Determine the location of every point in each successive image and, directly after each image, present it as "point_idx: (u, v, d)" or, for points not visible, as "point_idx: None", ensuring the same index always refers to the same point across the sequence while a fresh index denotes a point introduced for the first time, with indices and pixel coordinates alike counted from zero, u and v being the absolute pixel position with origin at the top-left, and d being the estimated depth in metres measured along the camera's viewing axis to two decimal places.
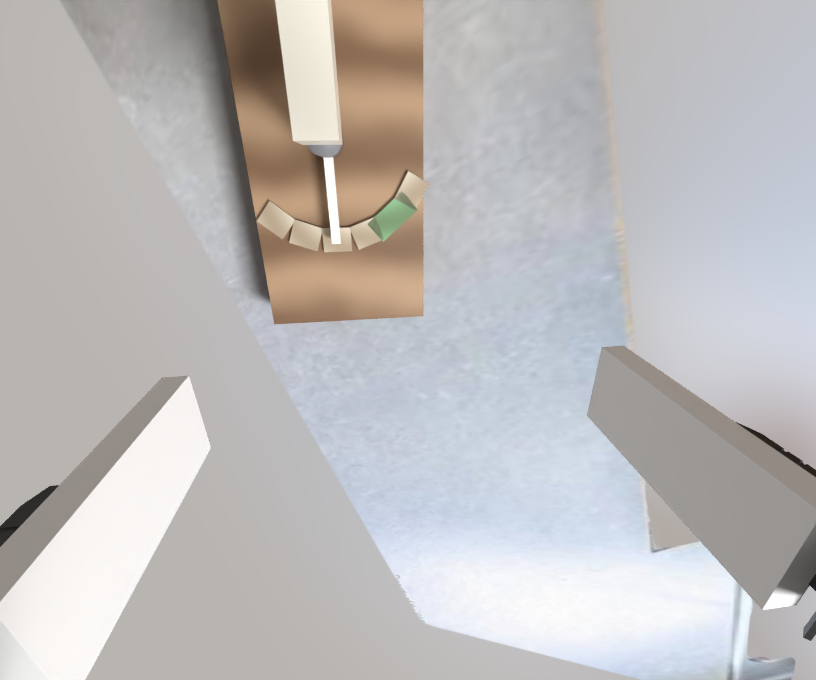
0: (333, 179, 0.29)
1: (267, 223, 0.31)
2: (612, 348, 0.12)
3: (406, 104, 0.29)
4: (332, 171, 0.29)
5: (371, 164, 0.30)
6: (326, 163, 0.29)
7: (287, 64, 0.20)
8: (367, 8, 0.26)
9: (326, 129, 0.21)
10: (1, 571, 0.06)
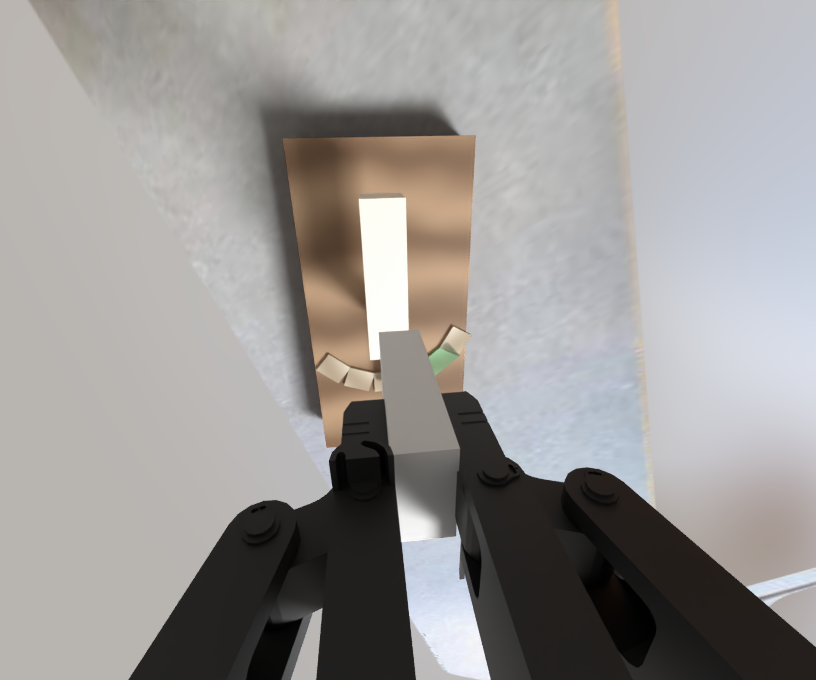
0: None
1: (325, 371, 0.35)
2: (406, 331, 0.14)
3: (453, 274, 0.32)
4: None
5: (420, 321, 0.34)
6: None
7: (370, 308, 0.23)
8: (423, 204, 0.30)
9: None
10: (406, 434, 0.08)
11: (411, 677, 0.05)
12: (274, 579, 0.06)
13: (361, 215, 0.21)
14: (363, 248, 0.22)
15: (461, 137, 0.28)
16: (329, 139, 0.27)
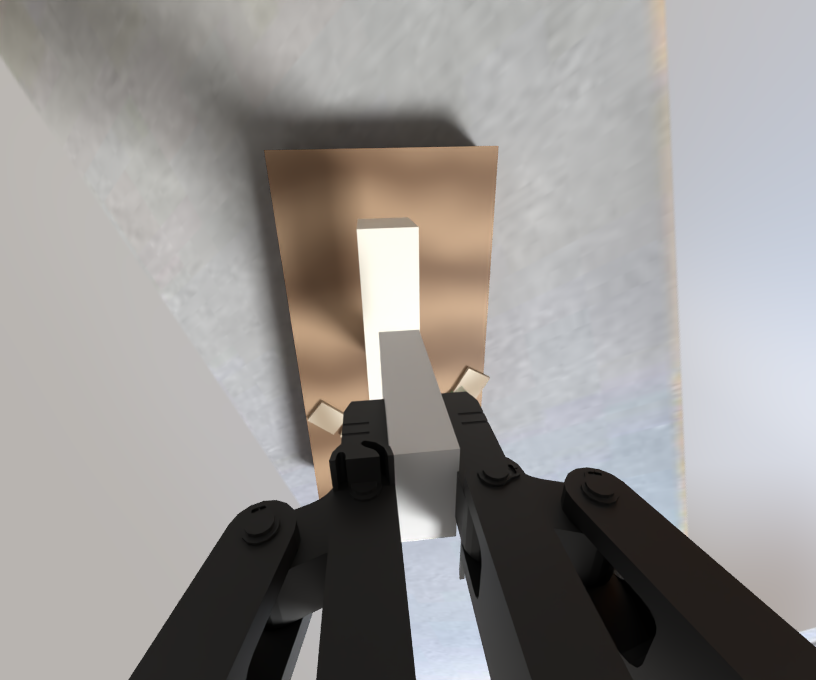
0: None
1: (318, 421, 0.29)
2: (406, 331, 0.14)
3: (469, 309, 0.27)
4: None
5: (430, 362, 0.29)
6: None
7: (371, 365, 0.18)
8: (435, 228, 0.25)
9: None
10: (406, 434, 0.08)
11: (411, 677, 0.05)
12: (274, 579, 0.06)
13: (360, 250, 0.16)
14: (362, 291, 0.17)
15: (481, 148, 0.23)
16: (321, 151, 0.22)
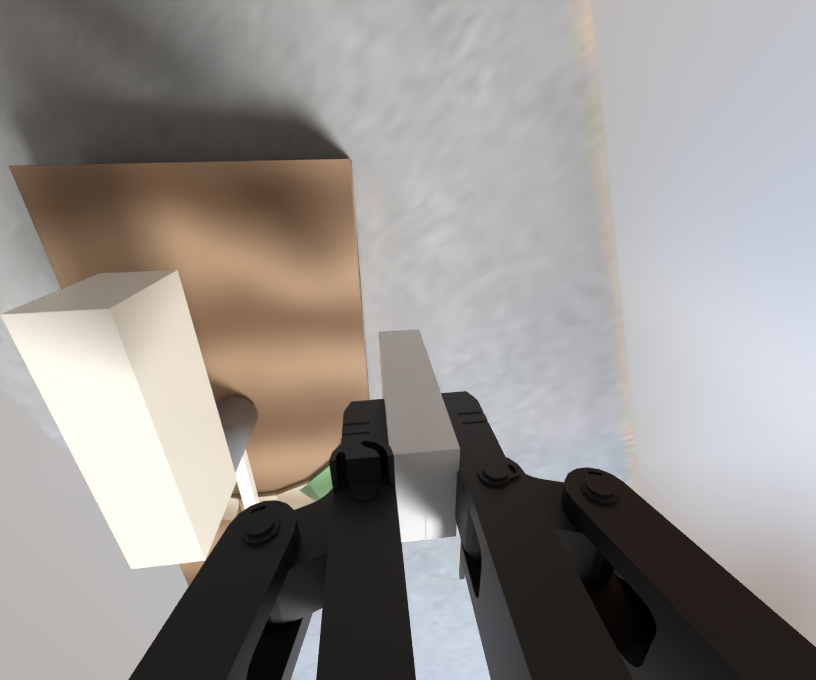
0: (243, 466, 0.21)
1: None
2: (406, 331, 0.14)
3: (341, 366, 0.21)
4: (241, 458, 0.21)
5: (300, 429, 0.23)
6: None
7: (101, 497, 0.12)
8: (277, 267, 0.19)
9: (182, 552, 0.14)
10: (406, 434, 0.08)
11: (411, 677, 0.05)
12: (274, 579, 0.06)
13: (20, 344, 0.10)
14: (48, 402, 0.11)
15: (325, 162, 0.17)
16: (94, 167, 0.16)
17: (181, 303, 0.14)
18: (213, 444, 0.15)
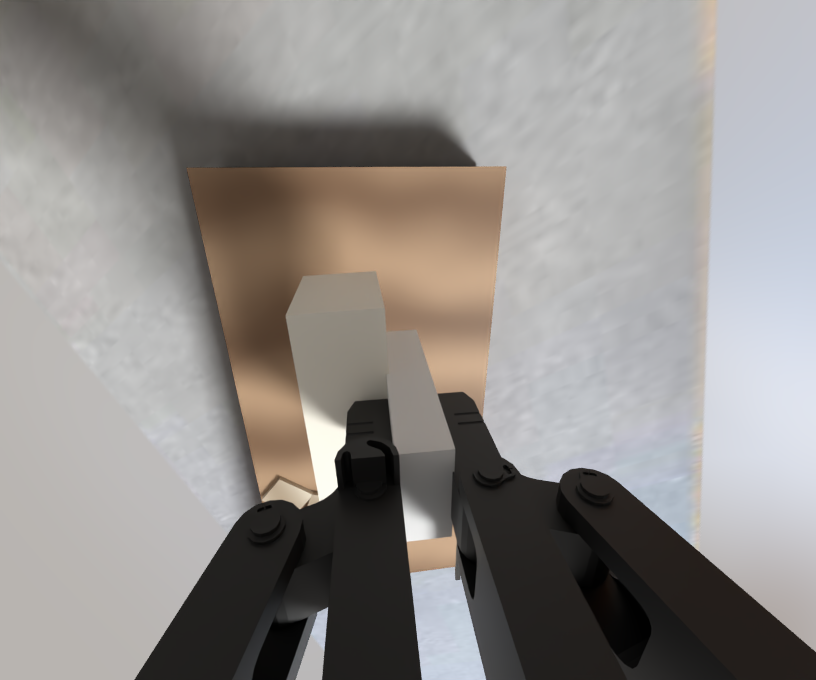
0: None
1: None
2: (403, 331, 0.14)
3: (465, 367, 0.22)
4: None
5: None
6: None
7: (325, 495, 0.13)
8: (422, 270, 0.19)
9: None
10: (411, 433, 0.08)
11: (417, 677, 0.05)
12: (280, 578, 0.06)
13: (294, 345, 0.10)
14: (303, 401, 0.11)
15: (484, 169, 0.17)
16: (267, 170, 0.16)
17: None
18: None
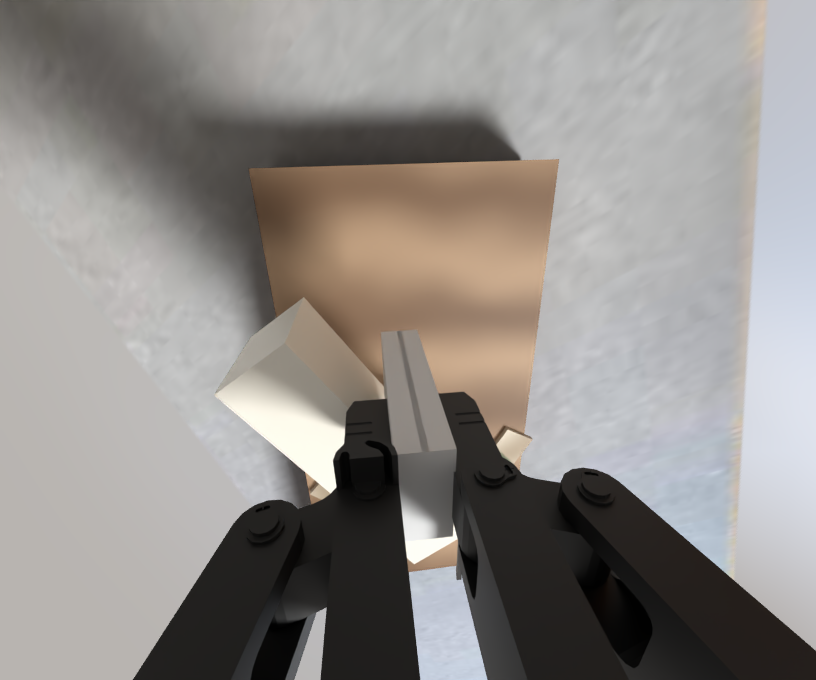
0: None
1: (323, 495, 0.24)
2: (404, 331, 0.14)
3: (511, 361, 0.22)
4: None
5: None
6: None
7: None
8: (472, 265, 0.19)
9: None
10: (410, 434, 0.08)
11: (415, 677, 0.05)
12: (278, 578, 0.06)
13: (239, 412, 0.11)
14: (283, 450, 0.12)
15: (536, 163, 0.17)
16: (326, 169, 0.17)
17: (323, 323, 0.14)
18: None
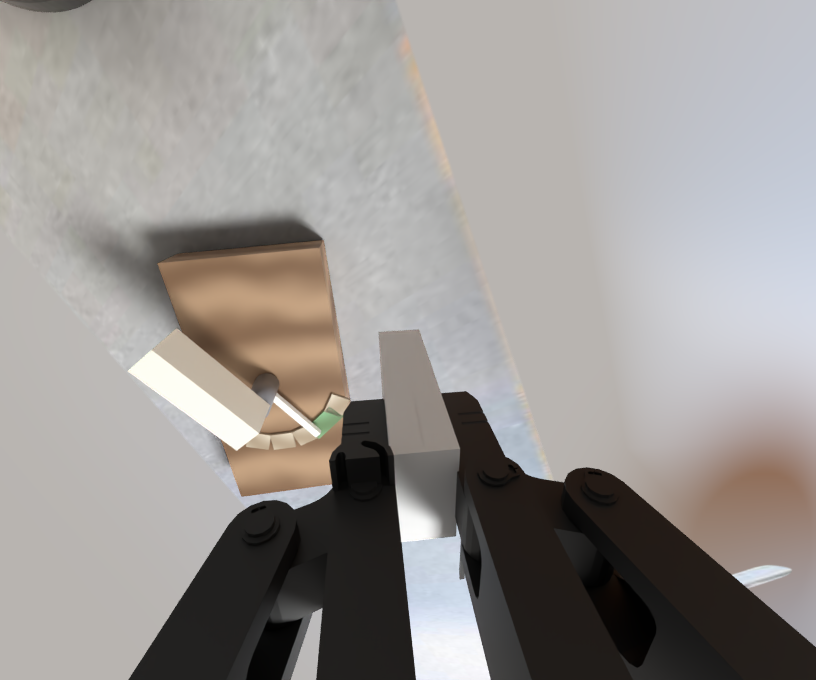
0: (286, 406, 0.38)
1: None
2: (406, 331, 0.14)
3: (324, 353, 0.38)
4: (281, 402, 0.38)
5: (303, 391, 0.40)
6: (274, 401, 0.38)
7: (202, 423, 0.30)
8: (286, 302, 0.35)
9: (248, 433, 0.30)
10: (406, 434, 0.08)
11: (411, 677, 0.05)
12: (274, 579, 0.06)
13: (139, 378, 0.27)
14: (160, 394, 0.28)
15: (307, 250, 0.34)
16: (196, 260, 0.33)
17: (186, 339, 0.30)
18: (240, 390, 0.32)
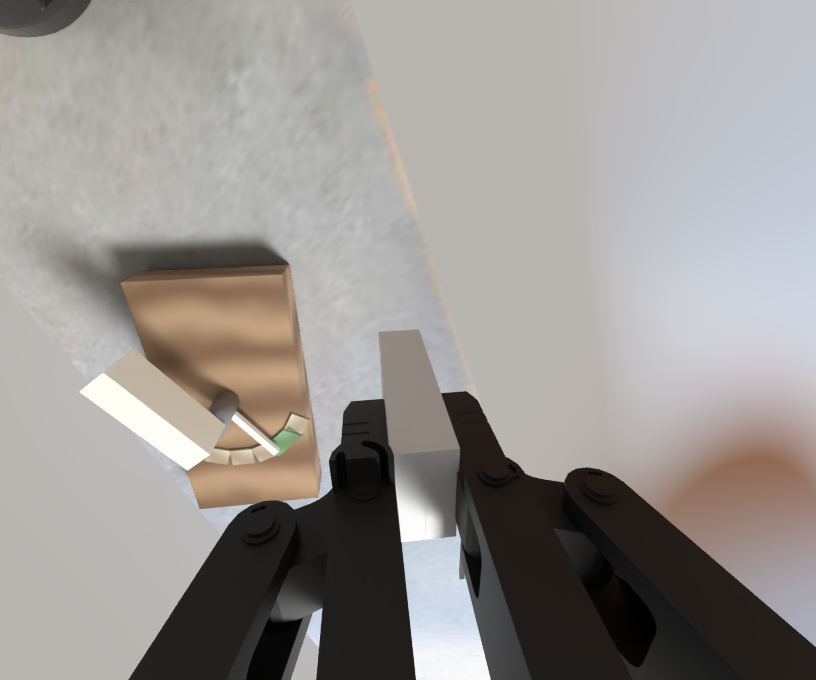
0: (244, 424, 0.39)
1: None
2: (406, 331, 0.14)
3: (285, 374, 0.39)
4: (240, 420, 0.39)
5: (263, 410, 0.40)
6: (233, 419, 0.39)
7: (153, 443, 0.30)
8: (248, 325, 0.36)
9: (199, 455, 0.31)
10: (406, 434, 0.08)
11: (411, 677, 0.05)
12: (274, 579, 0.06)
13: (90, 398, 0.28)
14: (111, 414, 0.29)
15: (270, 276, 0.35)
16: (159, 281, 0.34)
17: (142, 360, 0.31)
18: (195, 411, 0.33)
